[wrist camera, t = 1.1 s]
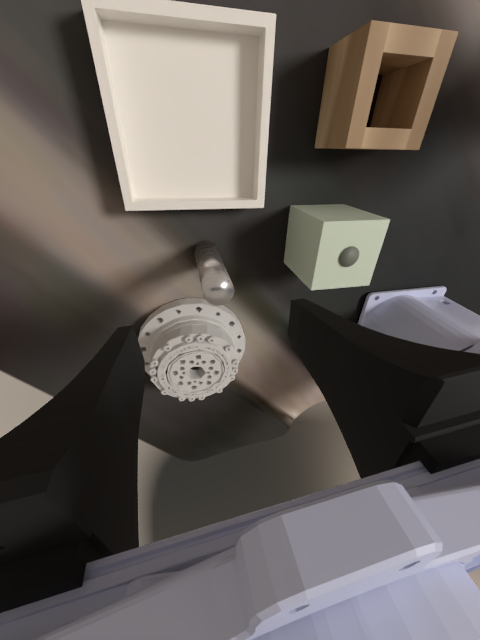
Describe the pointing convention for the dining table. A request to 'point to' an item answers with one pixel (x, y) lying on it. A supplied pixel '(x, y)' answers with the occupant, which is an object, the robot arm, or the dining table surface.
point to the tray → (184, 100)
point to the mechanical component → (191, 348)
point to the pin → (213, 274)
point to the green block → (333, 245)
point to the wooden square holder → (382, 86)
